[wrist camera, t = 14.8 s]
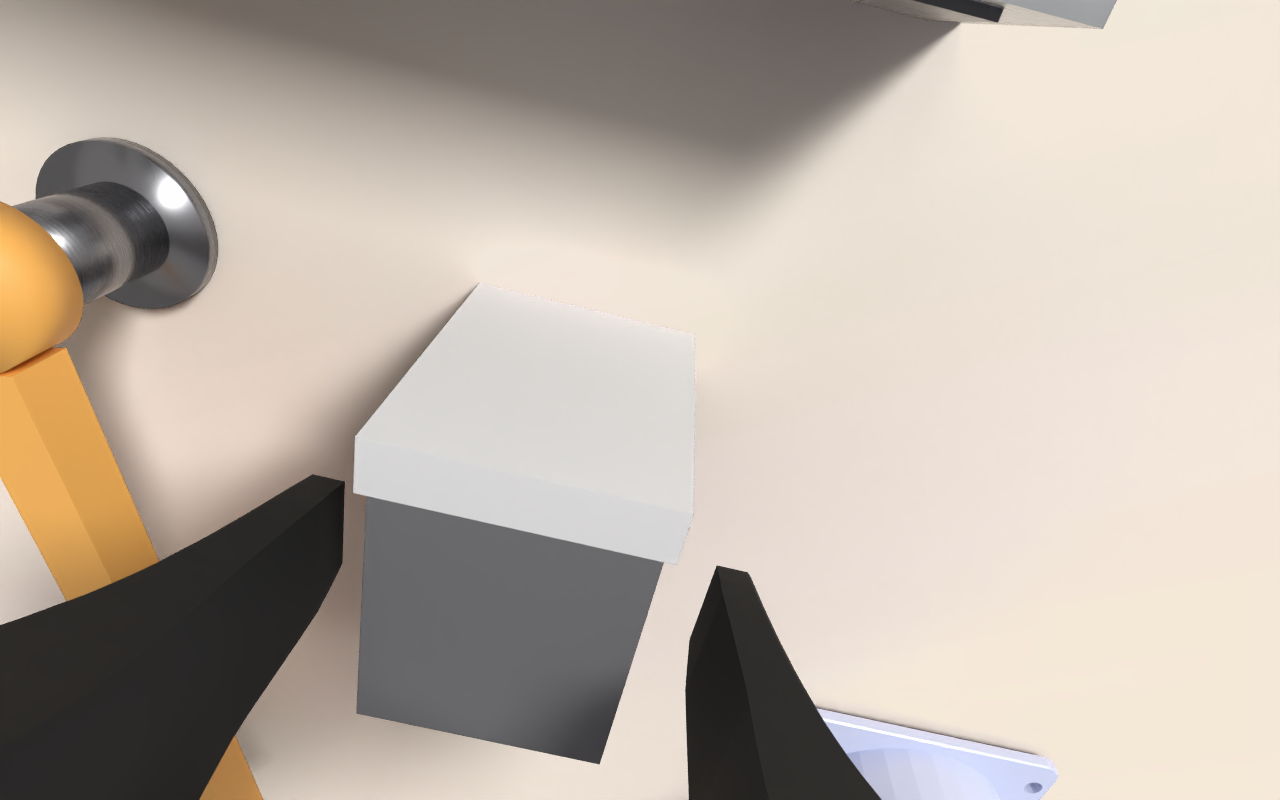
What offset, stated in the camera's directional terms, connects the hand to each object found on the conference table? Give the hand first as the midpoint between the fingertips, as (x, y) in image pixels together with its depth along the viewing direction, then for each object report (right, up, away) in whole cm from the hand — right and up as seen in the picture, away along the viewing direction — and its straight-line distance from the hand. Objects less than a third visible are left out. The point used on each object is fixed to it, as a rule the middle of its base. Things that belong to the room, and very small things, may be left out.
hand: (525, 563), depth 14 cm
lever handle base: (-9, +7, +2) cm, 11 cm away
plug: (0, +2, +4) cm, 4 cm away
